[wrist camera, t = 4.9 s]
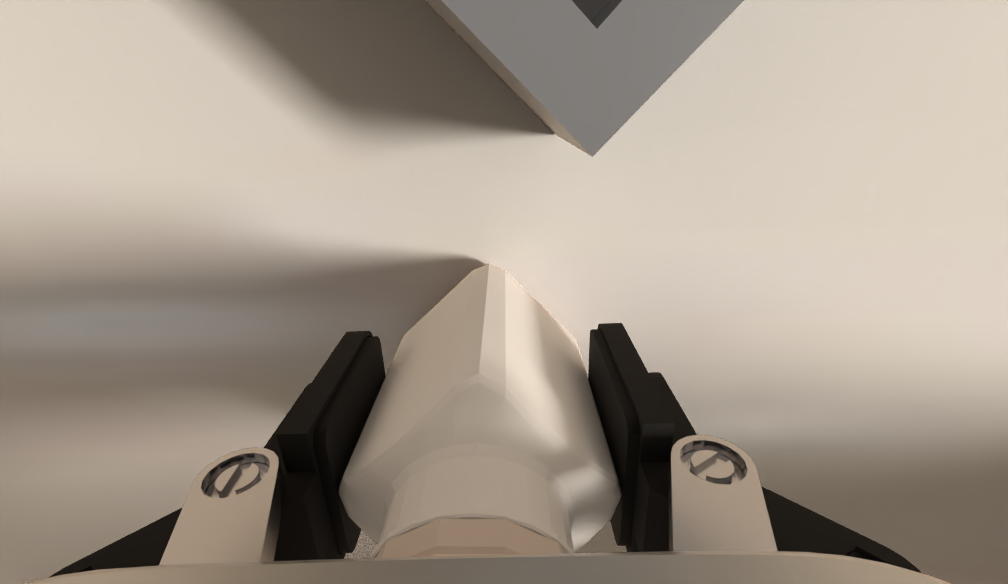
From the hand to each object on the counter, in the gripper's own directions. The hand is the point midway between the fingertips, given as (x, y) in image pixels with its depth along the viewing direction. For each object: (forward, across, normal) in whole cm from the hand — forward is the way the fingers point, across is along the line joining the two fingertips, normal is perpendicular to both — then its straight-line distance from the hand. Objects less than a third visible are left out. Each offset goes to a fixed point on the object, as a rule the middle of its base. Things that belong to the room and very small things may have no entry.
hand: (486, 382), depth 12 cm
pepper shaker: (+2, 0, 0) cm, 2 cm away
